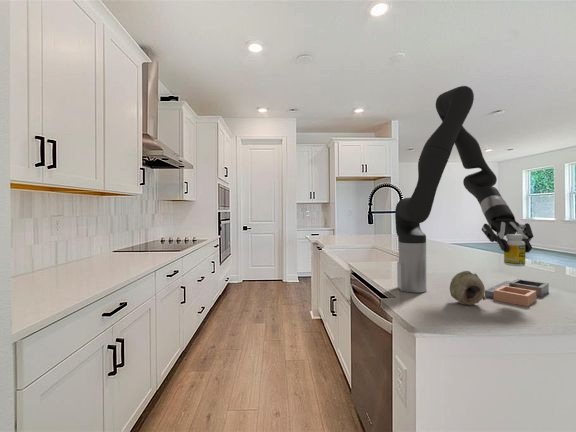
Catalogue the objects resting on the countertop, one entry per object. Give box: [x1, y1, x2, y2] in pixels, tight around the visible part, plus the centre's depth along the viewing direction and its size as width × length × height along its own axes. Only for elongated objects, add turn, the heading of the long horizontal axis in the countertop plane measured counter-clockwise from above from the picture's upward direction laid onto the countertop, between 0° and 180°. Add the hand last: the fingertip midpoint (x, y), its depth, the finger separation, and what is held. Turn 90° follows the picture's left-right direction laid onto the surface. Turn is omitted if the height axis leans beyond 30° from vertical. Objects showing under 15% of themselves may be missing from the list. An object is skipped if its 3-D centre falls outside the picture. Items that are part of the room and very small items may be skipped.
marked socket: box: [493, 286, 537, 307], centre depth 92 cm, size 9×9×3 cm
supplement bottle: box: [503, 233, 526, 267], centre depth 92 cm, size 5×5×10 cm
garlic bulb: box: [449, 270, 487, 307], centre depth 90 cm, size 9×8×10 cm
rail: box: [484, 278, 550, 299], centre depth 98 cm, size 21×12×3 cm, turn 127°
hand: (518, 250), depth 90 cm, fingers closed on supplement bottle, 5 cm apart
